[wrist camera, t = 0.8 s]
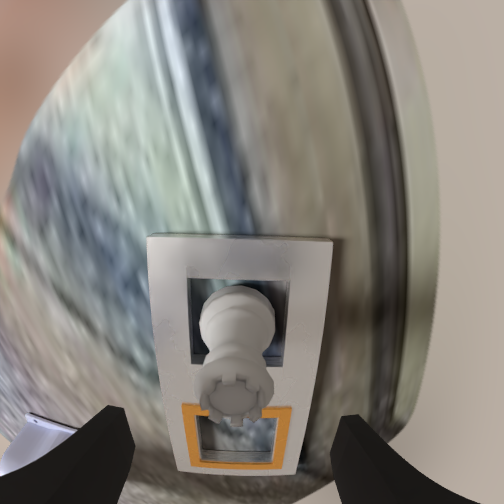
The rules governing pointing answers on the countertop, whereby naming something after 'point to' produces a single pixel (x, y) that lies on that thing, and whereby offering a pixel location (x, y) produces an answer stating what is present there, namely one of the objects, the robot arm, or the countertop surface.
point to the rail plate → (280, 368)
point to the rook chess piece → (235, 355)
